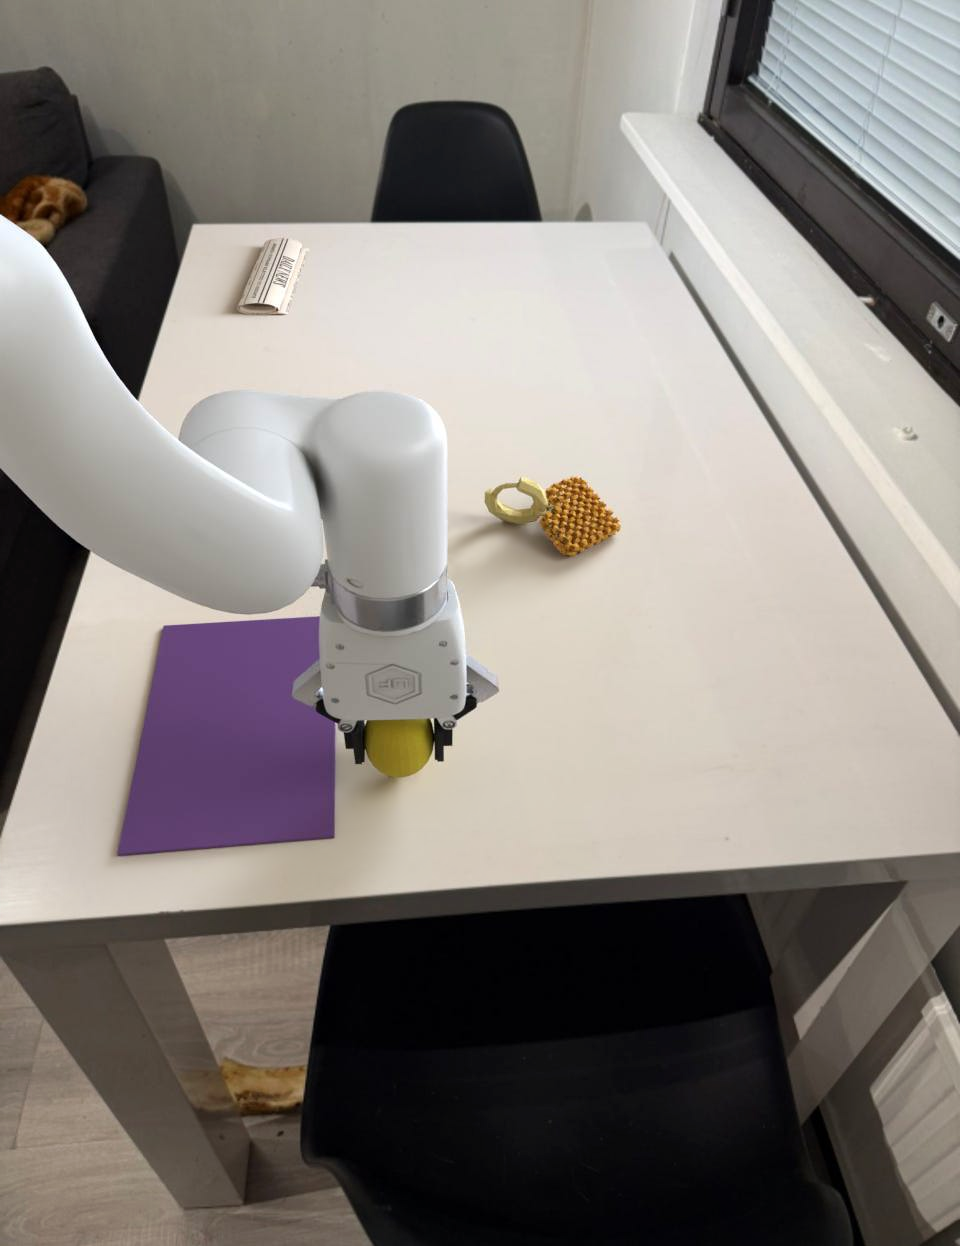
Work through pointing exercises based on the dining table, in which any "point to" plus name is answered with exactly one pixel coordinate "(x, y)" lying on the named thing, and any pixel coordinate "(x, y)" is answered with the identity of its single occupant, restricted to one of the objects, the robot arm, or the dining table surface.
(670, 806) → the dining table surface
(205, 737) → the cloth
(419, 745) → the lemon
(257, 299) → the newspaper
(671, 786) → the dining table surface
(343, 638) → the robot arm
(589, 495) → the ornament
